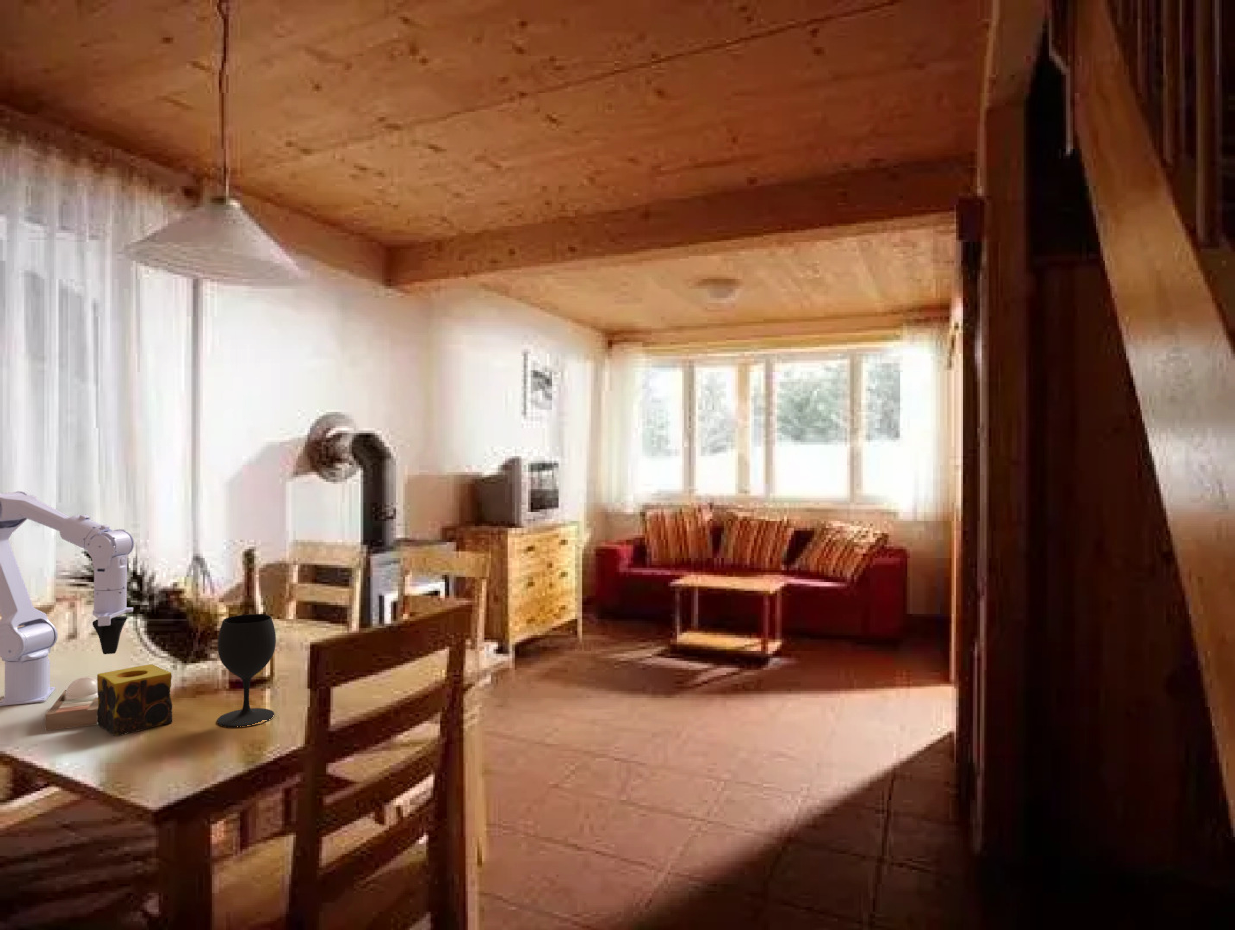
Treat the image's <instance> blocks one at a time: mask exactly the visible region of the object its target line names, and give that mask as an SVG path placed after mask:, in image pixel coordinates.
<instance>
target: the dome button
mask: <svg viewBox="0 0 1235 930" xmlns="http://www.w3.org/2000/svg"><path fill="white" fill-rule="evenodd" d="M65 690H66V700H70V699H81V698H91V697H95V698H98V690H97V679H96V678H94V677H89V676H83V677H80V678H77V679H75V680H73V681H72V682H71V683H69V685H68V686H67V689H65Z"/></svg>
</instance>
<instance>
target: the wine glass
mask: <svg viewBox="0 0 1235 930" xmlns="http://www.w3.org/2000/svg"><path fill="white" fill-rule="evenodd" d="M217 638H218V639H217V653H218V657H219V659H220V662H221V664H222V665H223V666H224V667H225V668H226V669H227V670H228V671H229V672H230V673H231V674H233V675H235V676H236V677H238V678H240V679H241V682H242V685H243V704H242V708H241V709H238V710H237V709H236V710H232V711H230V712H226V713H224V714H222V715H220V716H219V717H218V718H217V720H216V723H217V722H218V724H220V725H222V726H226V727H225V728H228V727H237V726H238V727H240V726H241V727H242V726H247V725H252V724H255V723H258V722H261V721H262V720H269V719H271V718H272V717H273V715H274V716H275V712H274V710H272V709H268V708H264V707H263V708H262V707H261V708H260V707H251V705H250V687H251V686H250V684H251V681H252V678H254V676H256V675H257V674H258V673H260V672H261V671H262V670H263V669H264V668H265V667H266V666H267V665H268V664H269V662H270V661H271V659H272V657H273V655H274V653H275V650H276V643H277V637H276V629H275V625H274V620H273V619H272V616H271V615H268V614H261V613H259V614H258V613H255V614H254V613H253V614H250V613H249V614H240V615H239V614H238V615H235V616H229V617H226V618H224V619H223V620H222V623H221V626H220V629H219V632H218V637H217ZM273 718H274V717H273ZM273 718H272V719H273ZM272 719H271V720H272ZM218 724H217V725H218ZM220 725H219V726H220ZM222 726H221V727H222Z"/></svg>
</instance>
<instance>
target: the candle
mask: <svg viewBox="0 0 1235 930" xmlns="http://www.w3.org/2000/svg"><path fill="white" fill-rule="evenodd" d="M96 676H97V679H96V680H97V690H98V710H97V716H98V717H97V722H98V723H97V724H98V726H99V727H101V728H102V729H104V730H105V731H106V732H108V733H110V734H111V735H112V736H116V737H117V736H122V734H123V735H126V734H125V733H127V734H131V733H135V732H139V731H140V732H141V731H143V730H147V729H150V728H153V727H158V726H164V725H163V724H165V725H169V724H172V723H173V702H172V698H171V697H172V696H171V687H172V677H173V676H172V672H171V671H168V670H166V669H164V668H161V667H159V666H157V665H155V664H151V663H150V664H145V665H137V666H133V667H126V668H122V669H117V670H111V671H106V672H100V673H98V674H96ZM171 722H172V723H171ZM168 723H169V724H168Z"/></svg>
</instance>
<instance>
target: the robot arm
mask: <svg viewBox="0 0 1235 930" xmlns="http://www.w3.org/2000/svg"><path fill="white" fill-rule="evenodd" d="M27 520H30V521H32V522H35V523H37V524H40V525H43V526H45V527H48V528H50V529H53V530H56V531H58V532H59V535H60V538H61V539H62V540H64V541H66V542H68V543H70V544H73V545H74V546H77V547H79V548H81V549H84V550H85V551H87V553H88V555H89V556H90V559H91V560H92V563H91V564H92V566H93V569H94V570H93V571H94V572H93V573H94V575H93V610H92V616H94V617H95V618H96V619H95V620H93V621H92V624H91V625H92V628H94V630H95V631H96V633H97V636H98V639H99V643H100V647H101V651H102V653H103V655H114V654H116V653H117V650H118V647H119V642H120V638H121V634H122V630H123V627H124V626H125V623H126V622H127V620H128V616H126V615H125V614H127V613H133V612H134V607H127V604H128V603H127V601H128V600H127V595H128V594H127V593H128V555H130V554H131V553H132V551H133V549H134V547H135V540H134V538H133V536H132V534H130V533H129V532H128V531H126V530H125V529H123V528H122V529H120V528H119V529H114V530H112V529H111V527H110V525H107V524H100V523H98V522H96V521H93V520H91V516H89V515H87V514H80V515H79V514H76V515H72V516H69V515H67V514H65V513H64V512H61V511H60V510H57V509H56V508H54V507H52V506H50V505H48V504H46V503H44V502H42V501H41V500H39V499H38V497H37V496H35V495H33V494H28V492H25V491H20V490H18V491H13V492H0V616H1V618H0V658H1V661H3V662H4V697H3V698H2V699H1V700H0V707H1V706H12V705H22V704H23V705H25V704H30V703H31V704H32V703H41V702H46V700H47V699H48V698H49V697H50V696H51V694H52V693H53V692H54V691H55V690H56V686H51V662H50V661H51V660H50V658H49V654H50V653H51V652H52V651H51V649H52V648H53V647H54V646H55V644H57V641H58V638H59V637H58V635H59V634H58V631H57V628H56V626H55V624H53V623H52V622H51V621H50V620H49V617H48V615H47V613H45V612H44V611H41V610H39V609H37V608H35V607H34V605H33V602H32V599H31V597H30V595H29V591H28V588H27V587H26V583H25V581H24V579H23V578H24V577H23V575H22V573H21V570H20V567H19V564H18V562H17V559H16V557H15V554H14V552H13V548H12V546H11V544H10V541H9V539H10V537H11V536H12V534H13V533H14V532H16V530H17V529H18V528H20V527H21V526H22V525H23V524H24V523H25V522H26V521H27Z"/></svg>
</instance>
